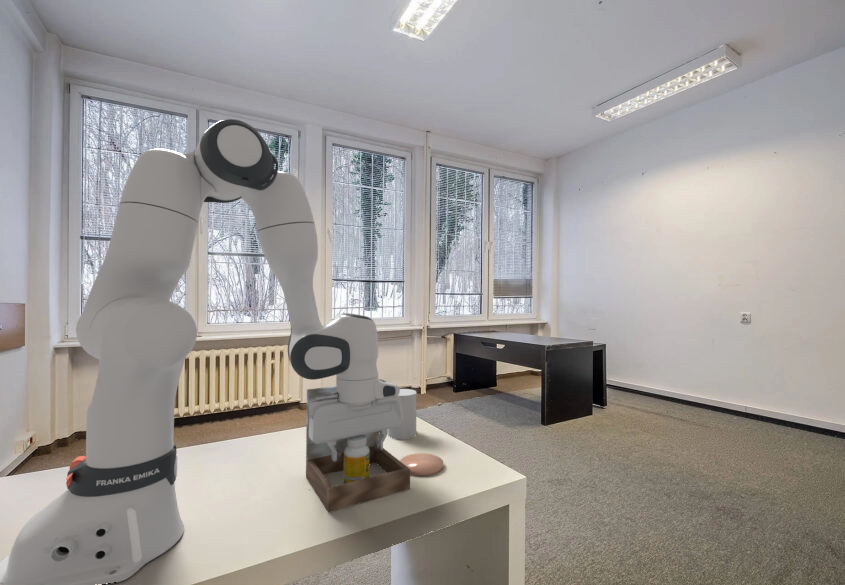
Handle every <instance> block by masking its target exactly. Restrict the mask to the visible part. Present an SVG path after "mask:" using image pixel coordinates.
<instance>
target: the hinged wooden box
mask: <svg viewBox="0 0 845 585" xmlns="http://www.w3.org/2000/svg"><path fill="white" fill-rule="evenodd" d="M331 393H336V385H332V386H326V387H324V386H323V387H317V388H315V387H314V388H308V389H306V421H305V422H306V424H305V426H306V429H305V430H306V434H305V439H306V440H305V443H306V444H305V445H306V446H305V447H306V449H305V460H306V461H305V478H306V480H307V481H308V483H309V484H310V486H311V488H312V489H313V490H314V492H315V494H316V496H317V497H318V500H320V502H321V503H322V505H323V506H324V508H325V509H326V511H327V513H332V512H335V511H339V510H342V509H347V508H349V507H350V508H351V507H353V506H356V505H361V504H363V503H368V502H371V501H373V500H378V499H380V498H384V497H388V496H391V495H394V494H398V493H402V492H405V491H408V490H409V491H410V490H411V475H410V469H409V468H408V467H407V466H405V465H404V464H403V463H402V462H400V461H401V460H399V459H398V458H397V457H396V456H394V455H393V454H392V453H391V452H389V451H388V450H387V449H385V448H384V447H383V450H380V451H376V450H374V444H373V441H376V440H377V438H378V436H379V434H380V433H379V432H378V431H377V432H372V433H367V434H363V435H365V436H366V441H367V443H366V446H368V448H369V451H370V456H369V465H374V464H376V465H377V466H378V467H379V468H381V470H383V471H384V472H385V473H381V474H378V475H372V476H369V478H365V479H361V480H357V481H353V482H349V483H345V484H344V483H343V484H342V483H340V484H339V485H333V486H332V484H331V483H330V482H329V481H328V479H327V478H326V477H325V476H326V475H330V474H335V473H339V472H344V450H345V448H346V447H347V446H348V445H347V438H344V439H339V440H336V445H333V446H334V448H335V450H337V449H339V451H341V460H339V461H335V462H334V461H333V460H332V451H331V450H330V448H329V447H328V445H327V444H326V442H325V443H320V444H315V443H314V442H313V441H312V440H311V439H310V438H309V421H310V416H309V414H308V406H309V403H310V401H311V400H312V399H314V398H315V397H316V396H318V395H327V394H331ZM314 401H316V400H314Z"/></svg>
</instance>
